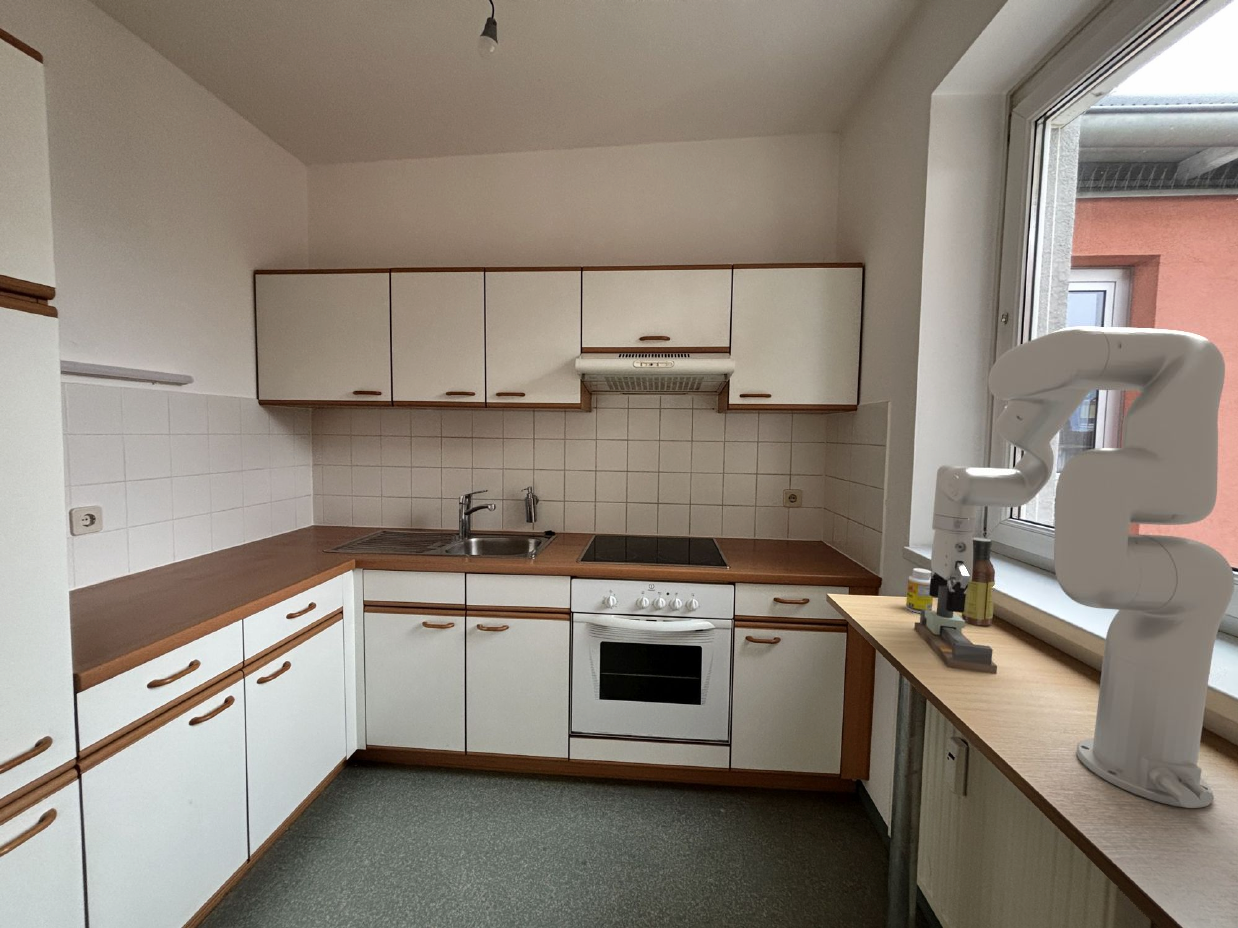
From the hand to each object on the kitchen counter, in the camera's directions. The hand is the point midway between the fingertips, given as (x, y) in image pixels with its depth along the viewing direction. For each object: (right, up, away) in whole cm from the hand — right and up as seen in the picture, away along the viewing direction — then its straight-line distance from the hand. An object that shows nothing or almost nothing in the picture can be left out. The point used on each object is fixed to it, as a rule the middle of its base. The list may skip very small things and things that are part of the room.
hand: (945, 603), depth 113 cm
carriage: (0, -6, 0) cm, 6 cm away
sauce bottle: (+15, -8, +13) cm, 21 cm away
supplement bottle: (+5, -7, +19) cm, 21 cm away
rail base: (-2, -8, -4) cm, 9 cm away
